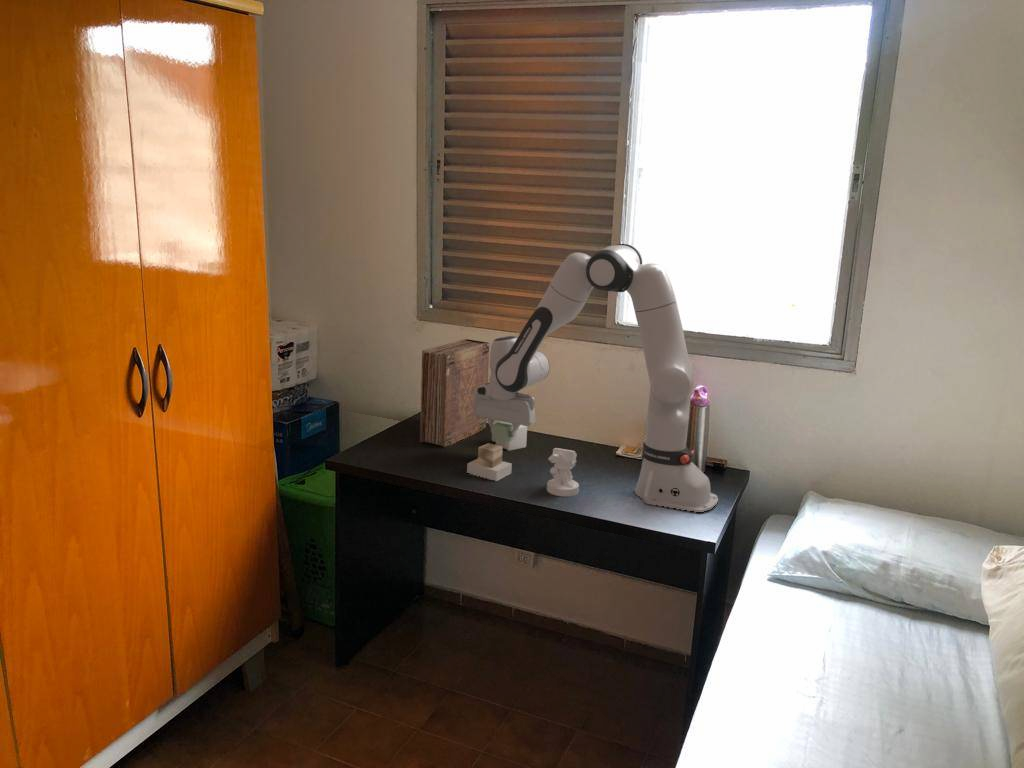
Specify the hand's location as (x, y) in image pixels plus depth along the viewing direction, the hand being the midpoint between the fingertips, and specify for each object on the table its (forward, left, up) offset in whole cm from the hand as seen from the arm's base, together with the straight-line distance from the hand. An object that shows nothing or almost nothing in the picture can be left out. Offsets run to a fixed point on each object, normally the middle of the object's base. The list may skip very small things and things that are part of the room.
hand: (503, 434), depth 244 cm
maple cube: (-3, +12, -5) cm, 14 cm away
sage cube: (0, 0, -2) cm, 2 cm away
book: (+25, -10, -8) cm, 28 cm away
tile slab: (-3, +12, -8) cm, 15 cm away
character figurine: (-26, +10, -8) cm, 29 cm away
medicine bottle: (+5, -13, -8) cm, 16 cm away
